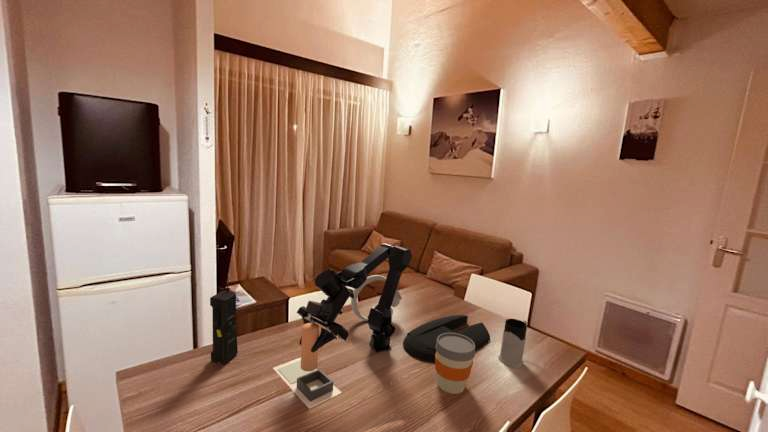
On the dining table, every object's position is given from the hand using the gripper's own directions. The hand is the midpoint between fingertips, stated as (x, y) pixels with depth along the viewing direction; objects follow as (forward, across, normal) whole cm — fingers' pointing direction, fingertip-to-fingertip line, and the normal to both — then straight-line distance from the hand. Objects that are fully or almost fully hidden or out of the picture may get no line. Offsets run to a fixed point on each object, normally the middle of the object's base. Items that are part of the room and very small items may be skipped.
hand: (306, 348), depth 102 cm
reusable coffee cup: (-14, +32, +34) cm, 49 cm away
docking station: (-31, +17, +52) cm, 62 cm away
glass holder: (-36, +42, +56) cm, 79 cm away
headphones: (-25, -14, +45) cm, 54 cm away
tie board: (+8, -2, +11) cm, 14 cm away
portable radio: (+16, -31, +3) cm, 35 cm away
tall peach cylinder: (+4, 0, +6) cm, 7 cm away
